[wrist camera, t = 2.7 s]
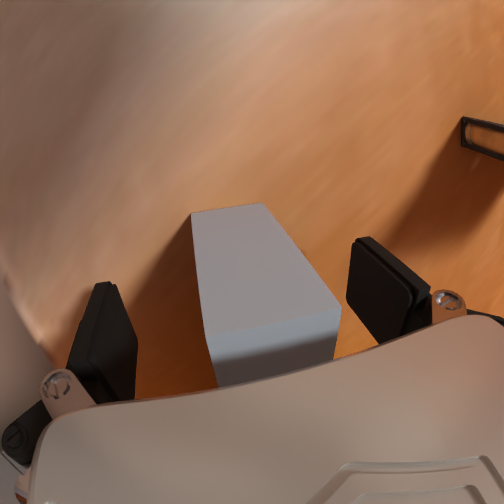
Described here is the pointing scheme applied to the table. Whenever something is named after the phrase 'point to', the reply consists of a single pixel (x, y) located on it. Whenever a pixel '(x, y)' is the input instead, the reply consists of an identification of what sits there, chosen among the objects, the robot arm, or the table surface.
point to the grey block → (259, 297)
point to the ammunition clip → (483, 137)
